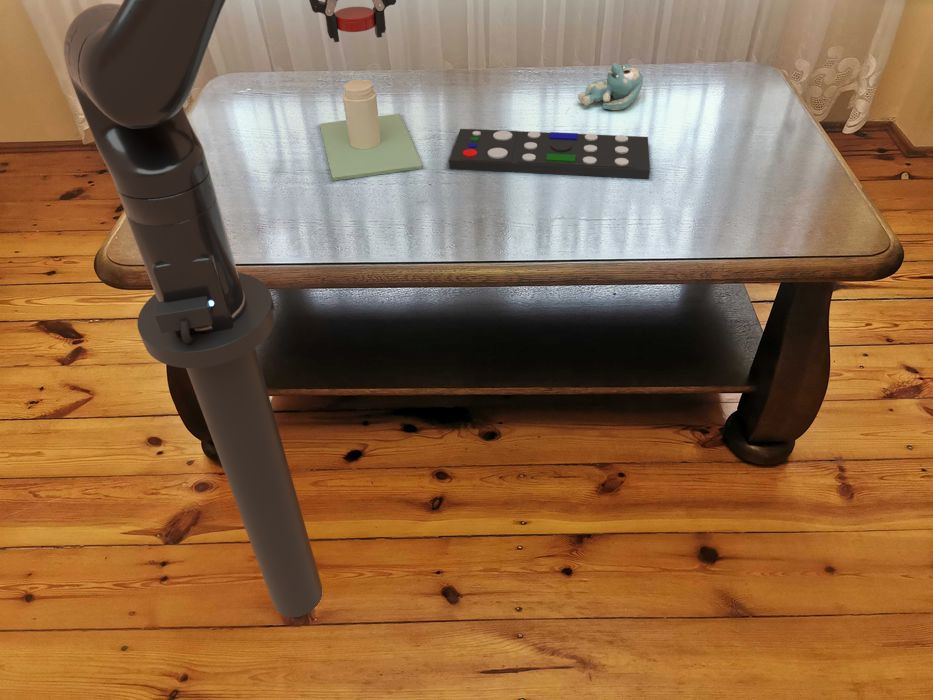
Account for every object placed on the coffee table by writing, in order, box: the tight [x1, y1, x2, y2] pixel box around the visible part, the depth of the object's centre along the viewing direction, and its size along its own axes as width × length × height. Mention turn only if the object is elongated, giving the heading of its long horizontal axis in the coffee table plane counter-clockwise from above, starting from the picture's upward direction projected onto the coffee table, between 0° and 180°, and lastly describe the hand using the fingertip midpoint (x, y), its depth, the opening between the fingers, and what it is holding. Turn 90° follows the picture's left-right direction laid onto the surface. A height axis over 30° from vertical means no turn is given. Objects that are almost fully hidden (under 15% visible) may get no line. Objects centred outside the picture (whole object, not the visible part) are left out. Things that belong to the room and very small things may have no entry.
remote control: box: [448, 128, 651, 180], centre depth 117 cm, size 11×30×2 cm, turn 81°
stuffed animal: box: [577, 62, 644, 111], centre depth 131 cm, size 11×7×12 cm
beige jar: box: [342, 79, 381, 149], centre depth 119 cm, size 5×5×10 cm
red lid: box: [334, 6, 376, 33], centre depth 109 cm, size 6×6×2 cm
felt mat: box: [319, 113, 424, 182], centre depth 122 cm, size 20×14×1 cm
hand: (357, 37), depth 110 cm, fingers closed on red lid, 5 cm apart
